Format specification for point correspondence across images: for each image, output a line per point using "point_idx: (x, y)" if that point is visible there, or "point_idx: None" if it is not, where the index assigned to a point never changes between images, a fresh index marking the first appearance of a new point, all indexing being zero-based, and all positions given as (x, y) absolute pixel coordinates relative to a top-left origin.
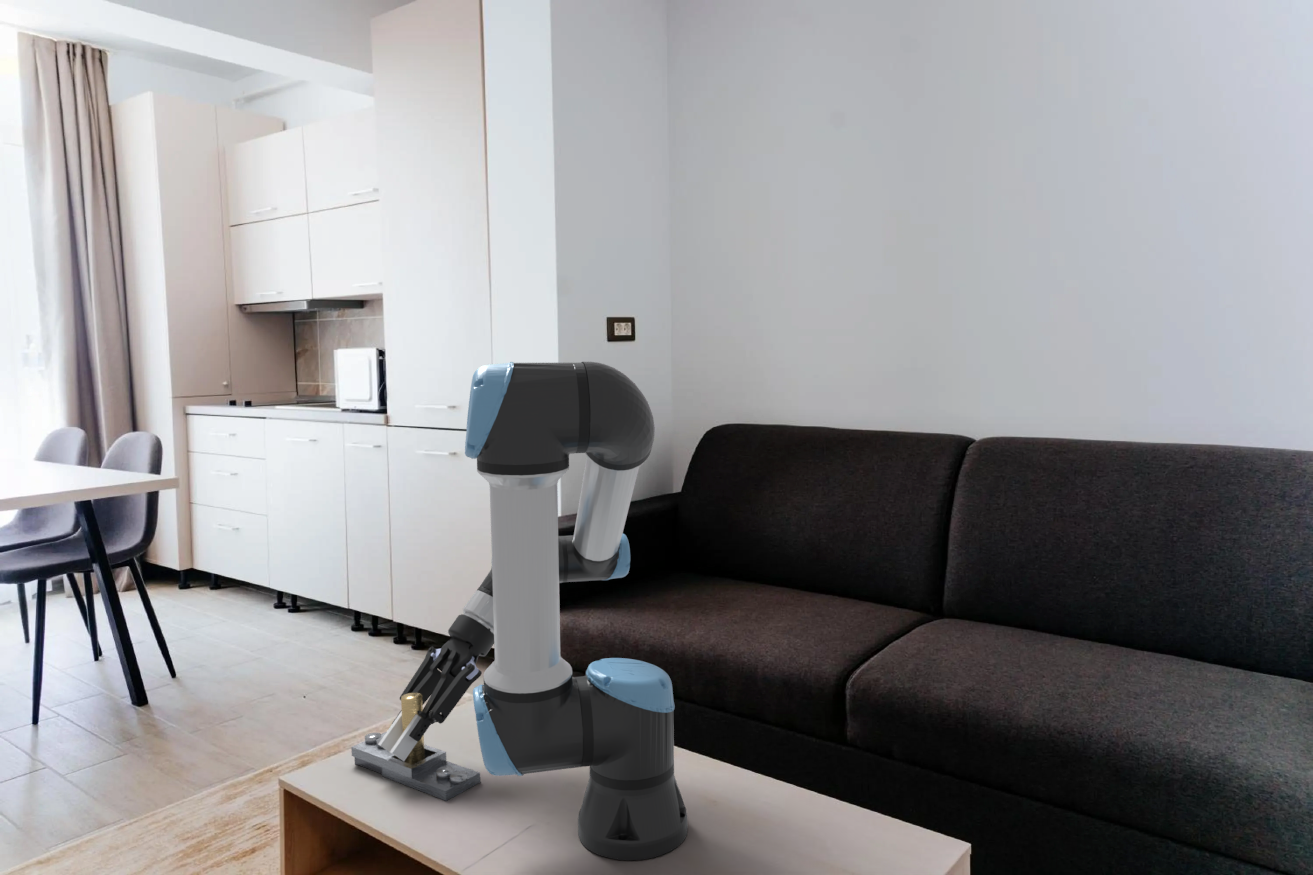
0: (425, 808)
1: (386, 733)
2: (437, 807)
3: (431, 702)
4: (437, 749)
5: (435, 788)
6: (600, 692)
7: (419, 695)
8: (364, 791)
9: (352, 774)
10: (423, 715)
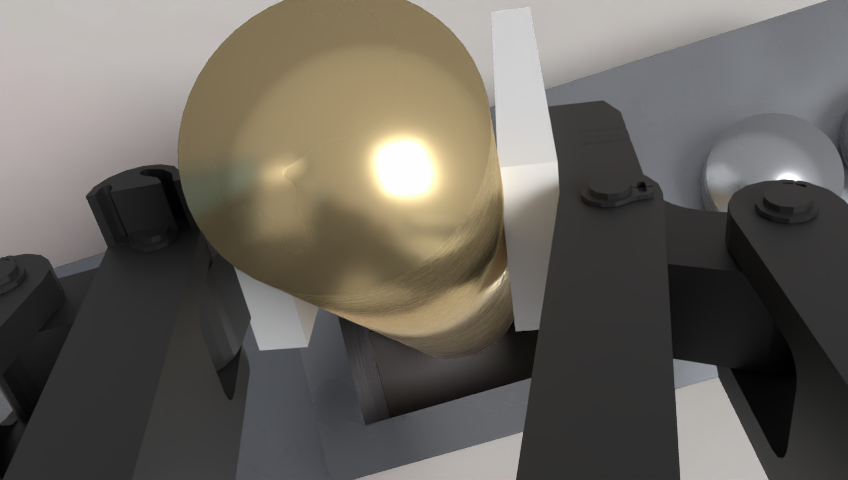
0: (71, 184)
1: (521, 41)
2: (37, 234)
3: (79, 338)
4: (414, 455)
5: (92, 259)
6: None
7: (283, 246)
8: (454, 7)
9: (710, 15)
10: (120, 222)
